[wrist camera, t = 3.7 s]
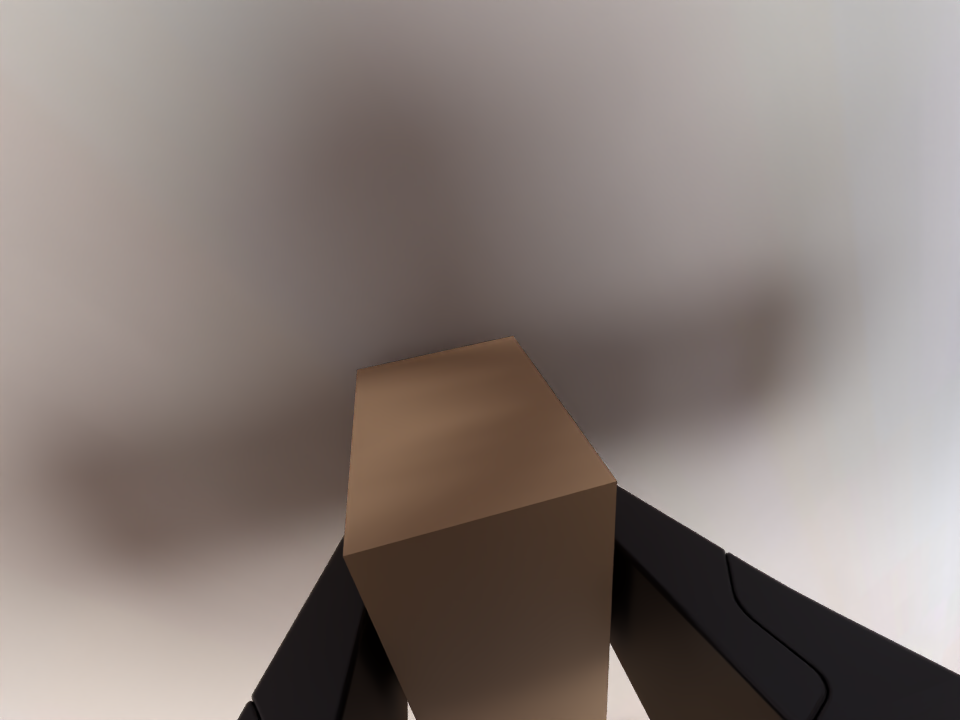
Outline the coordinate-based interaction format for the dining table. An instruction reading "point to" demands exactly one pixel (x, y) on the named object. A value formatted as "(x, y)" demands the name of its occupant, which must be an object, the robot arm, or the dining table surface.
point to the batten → (481, 537)
